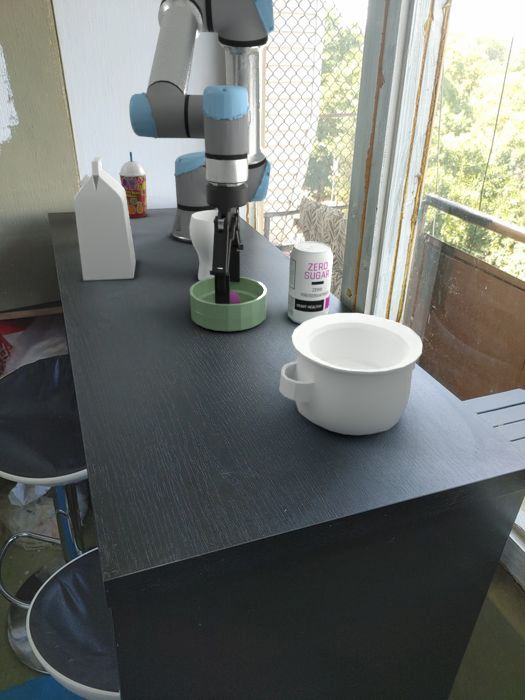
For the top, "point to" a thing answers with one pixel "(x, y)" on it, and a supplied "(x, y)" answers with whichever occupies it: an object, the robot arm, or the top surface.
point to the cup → (203, 240)
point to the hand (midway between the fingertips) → (228, 293)
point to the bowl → (228, 305)
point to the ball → (234, 298)
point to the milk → (103, 227)
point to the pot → (351, 371)
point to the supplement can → (309, 280)
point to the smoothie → (134, 188)
